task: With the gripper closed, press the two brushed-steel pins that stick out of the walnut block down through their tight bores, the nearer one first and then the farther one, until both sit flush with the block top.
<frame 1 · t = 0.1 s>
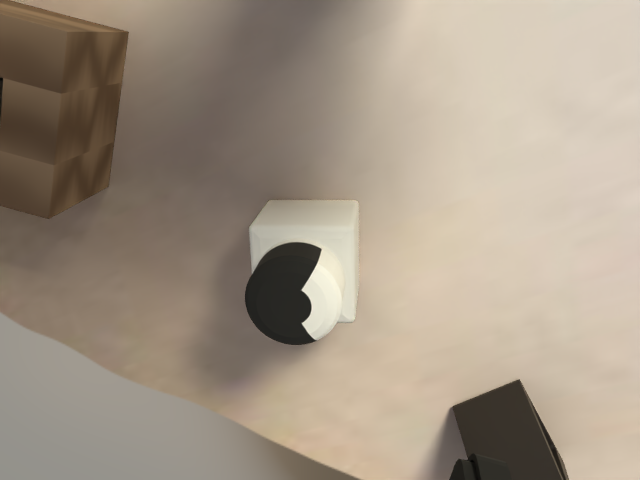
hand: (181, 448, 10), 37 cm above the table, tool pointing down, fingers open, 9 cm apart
medicine bottle: (314, 241, 48), on the table
phone stand: (507, 431, 52), on the table
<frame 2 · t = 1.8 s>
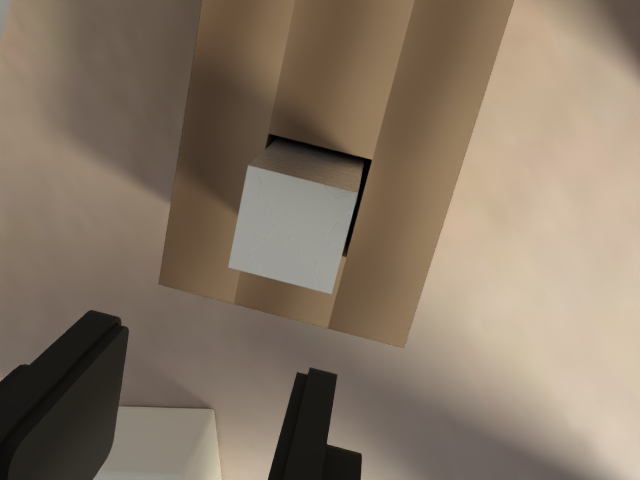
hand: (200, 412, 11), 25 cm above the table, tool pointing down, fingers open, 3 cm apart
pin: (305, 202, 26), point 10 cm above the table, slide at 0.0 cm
medicine bottle: (172, 447, 43), on the table
walnut block: (357, 33, 33), on the table
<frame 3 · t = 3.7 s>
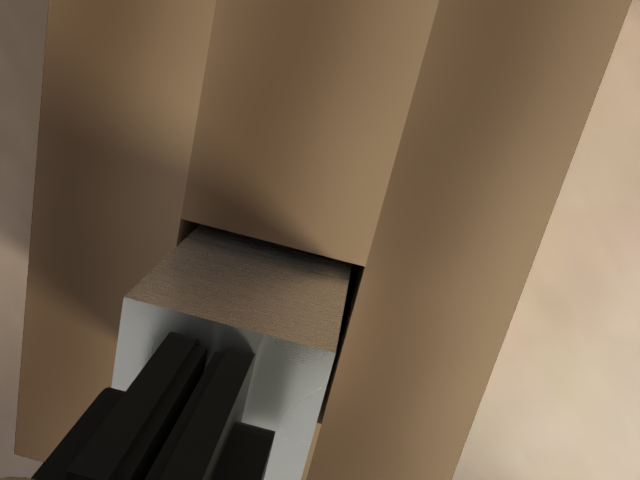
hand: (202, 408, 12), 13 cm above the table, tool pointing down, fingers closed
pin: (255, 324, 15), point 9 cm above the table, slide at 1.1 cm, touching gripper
walnut block: (346, 41, 22), on the table
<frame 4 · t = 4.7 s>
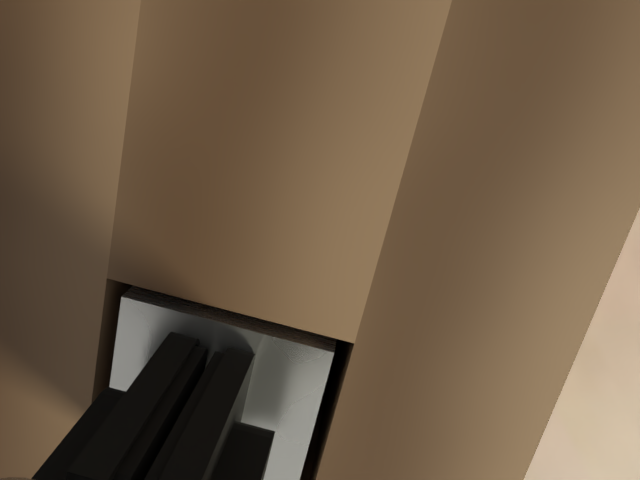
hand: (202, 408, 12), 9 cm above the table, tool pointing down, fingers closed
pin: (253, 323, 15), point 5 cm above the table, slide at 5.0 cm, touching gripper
walnut block: (335, 40, 18), on the table
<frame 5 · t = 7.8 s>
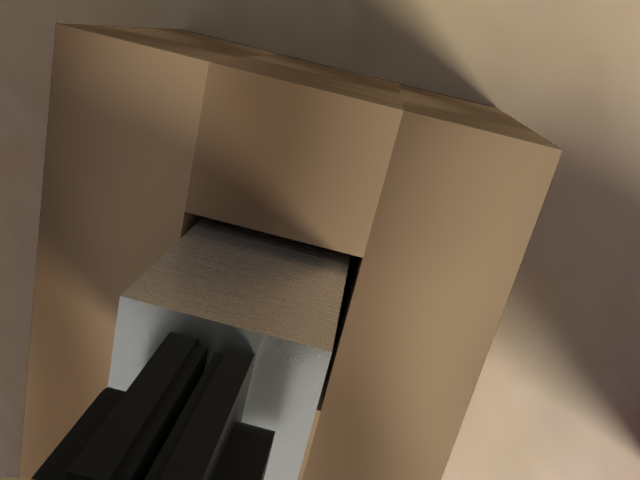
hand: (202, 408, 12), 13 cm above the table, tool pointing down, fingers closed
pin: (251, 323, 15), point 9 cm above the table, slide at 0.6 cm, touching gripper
walnut block: (268, 367, 27), on the table
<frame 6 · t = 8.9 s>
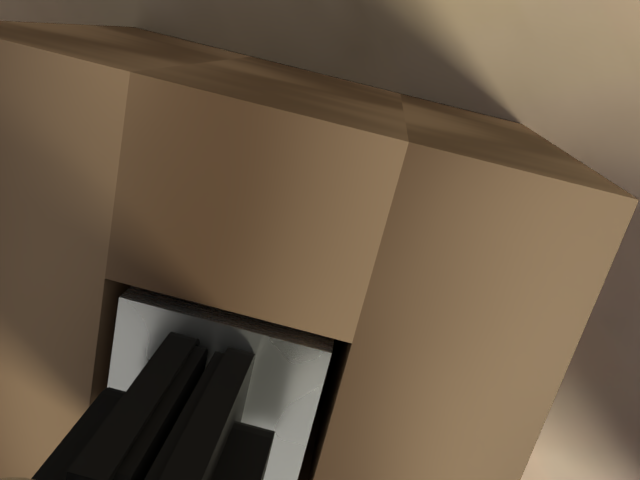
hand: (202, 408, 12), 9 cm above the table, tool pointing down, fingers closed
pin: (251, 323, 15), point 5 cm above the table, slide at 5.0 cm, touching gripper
walnut block: (244, 429, 22), on the table
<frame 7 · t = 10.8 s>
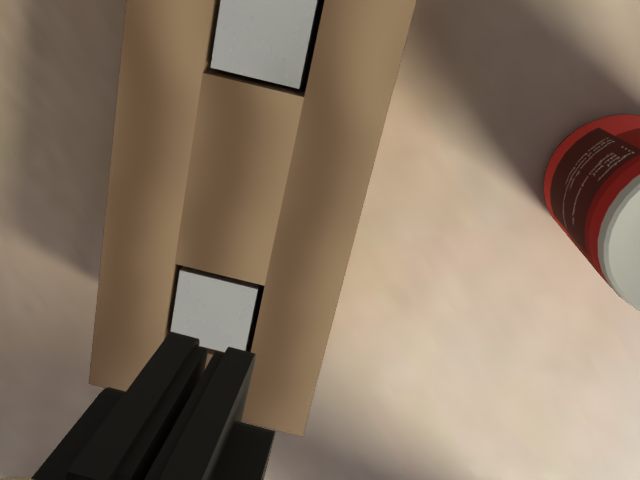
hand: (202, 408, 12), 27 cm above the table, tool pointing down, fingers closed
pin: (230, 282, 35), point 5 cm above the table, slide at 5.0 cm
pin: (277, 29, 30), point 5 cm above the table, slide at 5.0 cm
canned food: (608, 176, 36), on the table
walnut block: (268, 146, 37), on the table
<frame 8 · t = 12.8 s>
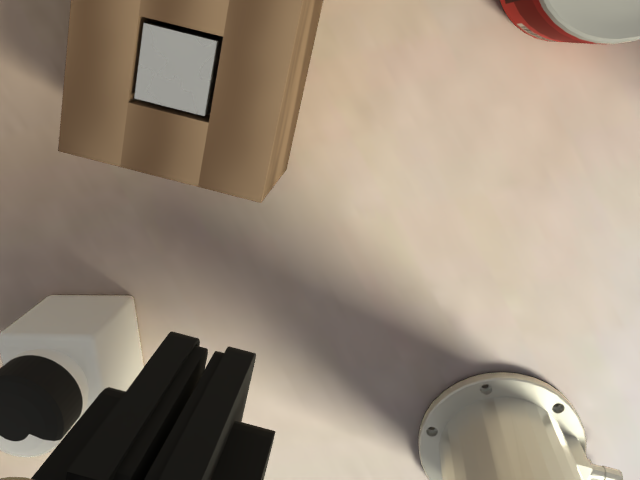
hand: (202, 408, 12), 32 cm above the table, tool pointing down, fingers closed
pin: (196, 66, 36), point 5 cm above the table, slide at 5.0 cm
medicine bottle: (99, 333, 49), on the table
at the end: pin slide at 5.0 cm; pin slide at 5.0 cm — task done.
